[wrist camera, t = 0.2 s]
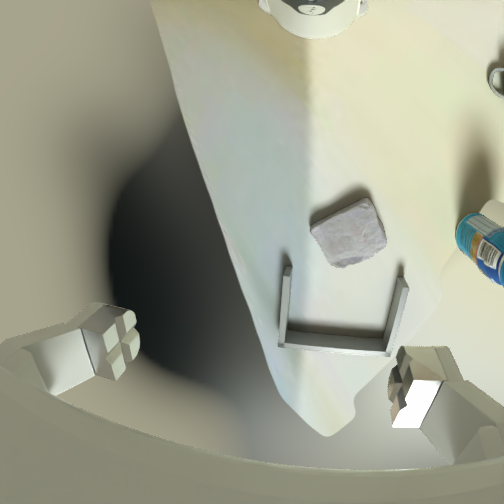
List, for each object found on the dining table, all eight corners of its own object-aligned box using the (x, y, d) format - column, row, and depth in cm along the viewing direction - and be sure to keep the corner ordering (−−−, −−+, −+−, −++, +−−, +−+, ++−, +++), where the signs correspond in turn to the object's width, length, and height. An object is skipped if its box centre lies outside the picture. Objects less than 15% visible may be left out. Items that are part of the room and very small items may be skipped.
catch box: (286, 266, 59) (283, 276, 55) (403, 277, 55) (409, 288, 51) (280, 334, 64) (277, 346, 60) (386, 343, 60) (389, 356, 56)
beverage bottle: (478, 202, 47) (538, 235, 28) (495, 237, 48) (551, 281, 29) (446, 228, 50) (496, 273, 32) (465, 263, 51) (512, 316, 33)
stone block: (388, 236, 55) (366, 190, 51) (394, 249, 51) (372, 201, 47) (332, 263, 59) (306, 221, 56) (334, 278, 55) (307, 234, 52)
